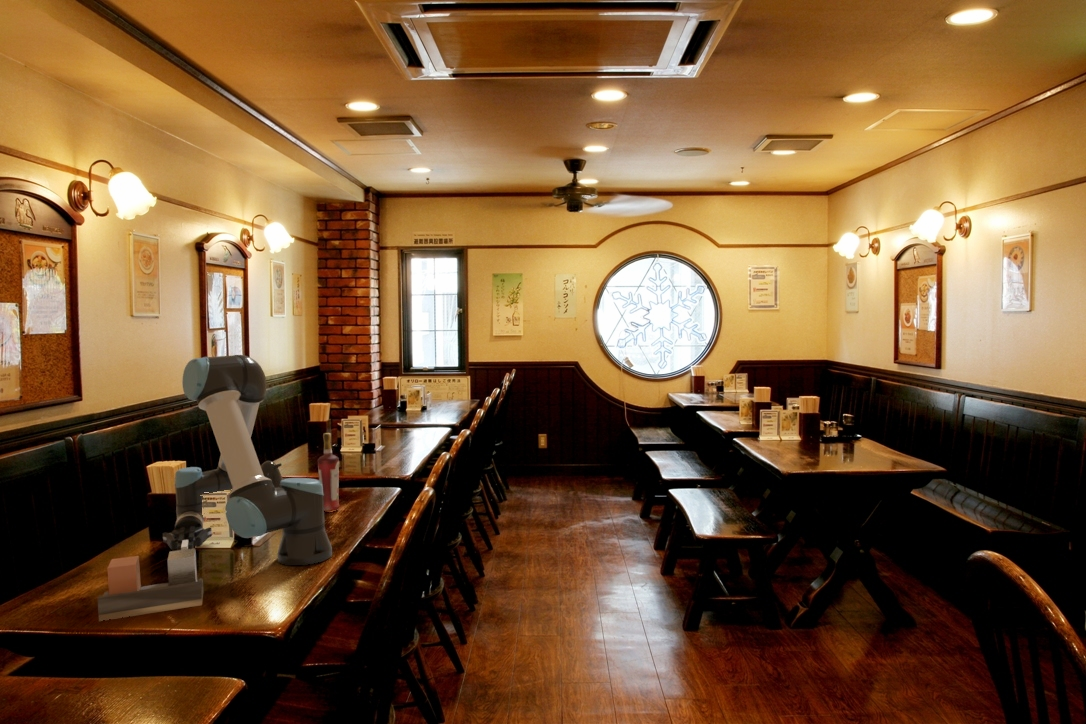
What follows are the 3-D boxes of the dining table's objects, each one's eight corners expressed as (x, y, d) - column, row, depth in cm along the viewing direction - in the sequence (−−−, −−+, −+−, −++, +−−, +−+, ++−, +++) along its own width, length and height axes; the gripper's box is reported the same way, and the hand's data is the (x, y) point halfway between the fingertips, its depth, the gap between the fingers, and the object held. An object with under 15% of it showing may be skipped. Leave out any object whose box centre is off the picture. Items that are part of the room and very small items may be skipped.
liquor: (323, 508, 268) (320, 431, 266) (343, 507, 268) (340, 431, 266) (316, 513, 261) (313, 435, 259) (337, 513, 261) (334, 435, 259)
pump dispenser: (275, 504, 275) (273, 464, 274) (250, 503, 277) (248, 463, 276) (290, 497, 285) (288, 458, 284) (265, 496, 287) (263, 457, 286)
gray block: (171, 585, 191) (169, 551, 190) (197, 581, 193) (195, 548, 192) (169, 595, 184) (167, 560, 183) (196, 591, 186) (194, 556, 186)
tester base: (105, 605, 182) (104, 584, 182) (203, 590, 191) (202, 570, 190) (99, 621, 173) (97, 598, 173) (202, 604, 182) (200, 583, 181)
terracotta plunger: (113, 594, 186) (111, 559, 185) (140, 590, 188) (138, 555, 187) (109, 604, 179) (107, 568, 178) (137, 600, 181) (135, 564, 181)
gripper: (213, 537, 222) (211, 561, 200) (165, 543, 217) (157, 569, 195) (212, 512, 221) (210, 534, 199) (163, 517, 216) (156, 541, 194)
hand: (184, 551), depth 197 cm, fingers closed
